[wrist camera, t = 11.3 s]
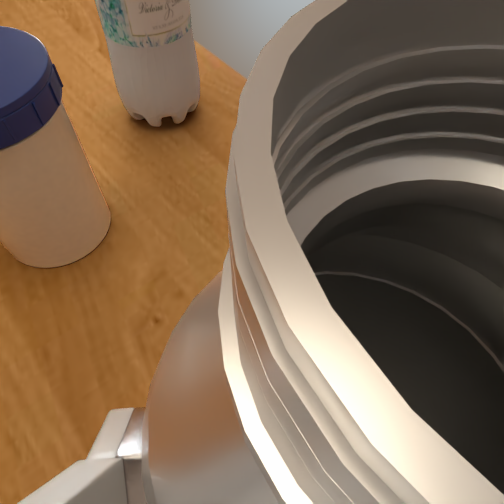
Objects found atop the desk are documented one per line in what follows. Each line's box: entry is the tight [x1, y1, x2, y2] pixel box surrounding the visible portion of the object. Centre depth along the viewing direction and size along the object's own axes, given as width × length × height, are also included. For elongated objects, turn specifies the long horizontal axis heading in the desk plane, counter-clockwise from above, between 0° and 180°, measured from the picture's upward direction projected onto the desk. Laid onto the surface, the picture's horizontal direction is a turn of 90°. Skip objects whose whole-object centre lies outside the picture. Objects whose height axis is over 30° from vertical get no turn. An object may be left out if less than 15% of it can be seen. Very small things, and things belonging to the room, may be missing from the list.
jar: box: [0, 98, 111, 268], centre depth 22 cm, size 7×7×10 cm
